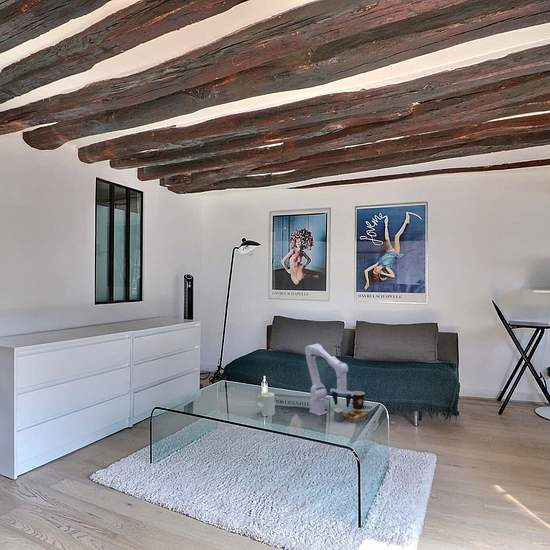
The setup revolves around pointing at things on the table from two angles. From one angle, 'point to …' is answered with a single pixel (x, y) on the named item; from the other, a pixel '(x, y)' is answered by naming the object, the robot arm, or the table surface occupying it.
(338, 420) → the plug
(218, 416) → the table surface
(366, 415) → the socket board
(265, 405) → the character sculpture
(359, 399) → the coffee mug
